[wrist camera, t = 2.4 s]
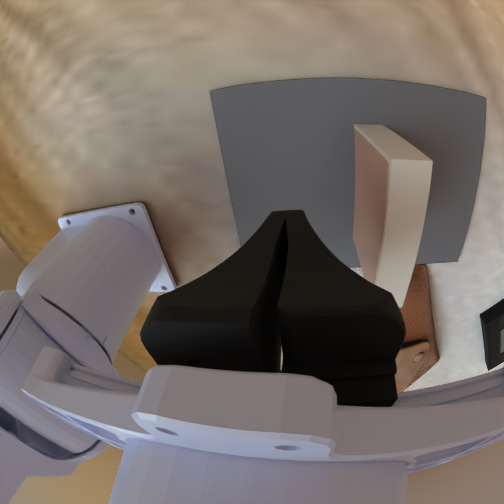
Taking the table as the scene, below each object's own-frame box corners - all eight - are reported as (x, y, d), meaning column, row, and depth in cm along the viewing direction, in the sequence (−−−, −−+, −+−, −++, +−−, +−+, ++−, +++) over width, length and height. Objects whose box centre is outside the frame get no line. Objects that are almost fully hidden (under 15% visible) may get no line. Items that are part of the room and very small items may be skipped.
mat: (246, 267, 20) (246, 271, 19) (211, 90, 13) (209, 91, 12) (455, 258, 16) (457, 261, 16) (482, 96, 9) (485, 97, 9)
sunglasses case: (443, 360, 24) (425, 412, 21) (394, 354, 30) (374, 400, 27) (424, 255, 17) (402, 338, 14) (346, 257, 22) (312, 324, 19)
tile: (352, 236, 16) (369, 309, 12) (353, 124, 12) (389, 159, 8) (377, 235, 16) (402, 307, 11) (382, 125, 12) (432, 161, 7)
